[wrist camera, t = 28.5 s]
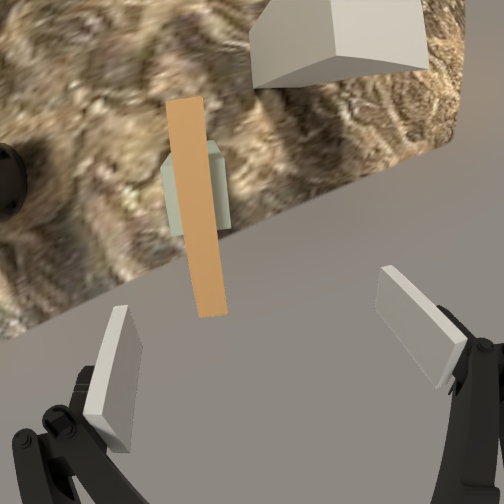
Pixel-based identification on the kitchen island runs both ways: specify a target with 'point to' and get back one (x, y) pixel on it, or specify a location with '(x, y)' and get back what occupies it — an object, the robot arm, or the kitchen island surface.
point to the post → (335, 41)
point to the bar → (196, 203)
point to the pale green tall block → (217, 190)
